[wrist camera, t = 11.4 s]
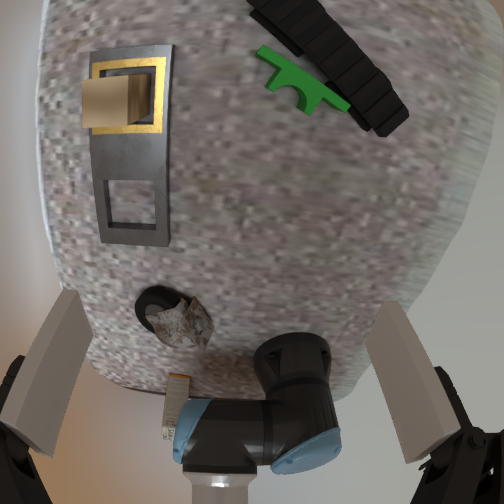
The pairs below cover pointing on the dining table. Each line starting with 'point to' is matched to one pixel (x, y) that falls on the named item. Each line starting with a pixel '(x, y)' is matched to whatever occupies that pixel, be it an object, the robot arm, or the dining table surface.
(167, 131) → the rail plate
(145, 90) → the oak peg
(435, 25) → the dining table surface
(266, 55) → the pipe clamp
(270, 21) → the rail mount
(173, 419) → the supplement box
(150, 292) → the caster wheel
